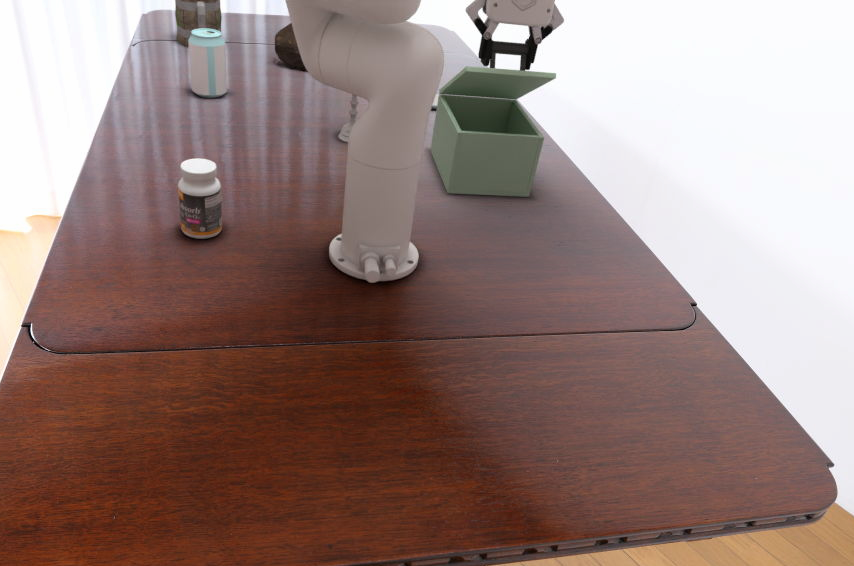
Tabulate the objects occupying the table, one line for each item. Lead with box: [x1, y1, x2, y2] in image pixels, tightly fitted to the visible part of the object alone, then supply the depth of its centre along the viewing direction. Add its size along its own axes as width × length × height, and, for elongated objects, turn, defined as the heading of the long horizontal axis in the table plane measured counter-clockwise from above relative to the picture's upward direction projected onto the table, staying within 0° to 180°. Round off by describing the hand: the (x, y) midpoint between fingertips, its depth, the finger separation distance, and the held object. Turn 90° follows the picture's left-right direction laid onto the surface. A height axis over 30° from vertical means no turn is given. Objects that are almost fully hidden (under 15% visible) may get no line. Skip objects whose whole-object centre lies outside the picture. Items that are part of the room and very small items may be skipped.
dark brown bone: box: [274, 22, 307, 71], centre depth 167 cm, size 11×10×28 cm
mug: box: [174, 0, 223, 48], centre depth 162 cm, size 16×11×12 cm
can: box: [188, 28, 228, 99], centre depth 137 cm, size 7×7×12 cm
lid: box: [438, 40, 557, 100], centre depth 114 cm, size 18×15×5 cm
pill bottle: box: [177, 157, 223, 240], centre depth 94 cm, size 6×6×10 cm
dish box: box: [429, 93, 545, 198], centre depth 120 cm, size 18×15×11 cm
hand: (504, 64), depth 109 cm, fingers closed on lid, 6 cm apart
